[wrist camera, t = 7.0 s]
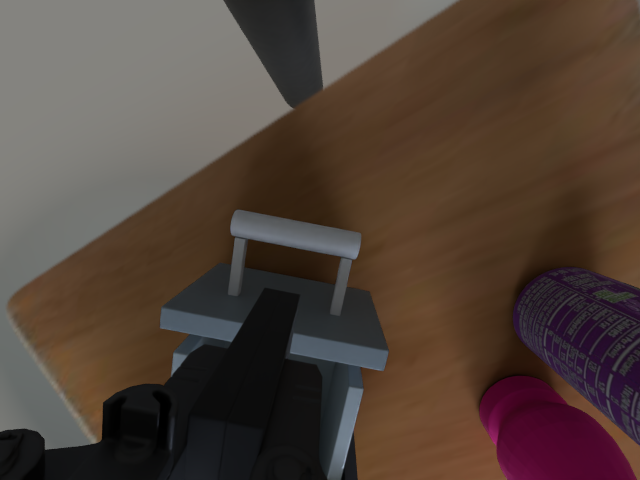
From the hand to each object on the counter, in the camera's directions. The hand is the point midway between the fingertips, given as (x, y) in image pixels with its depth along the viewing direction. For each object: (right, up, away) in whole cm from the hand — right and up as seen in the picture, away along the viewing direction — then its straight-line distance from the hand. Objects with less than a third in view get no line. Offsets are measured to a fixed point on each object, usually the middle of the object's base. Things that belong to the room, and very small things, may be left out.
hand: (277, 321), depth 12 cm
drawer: (-1, -3, +11) cm, 11 cm away
